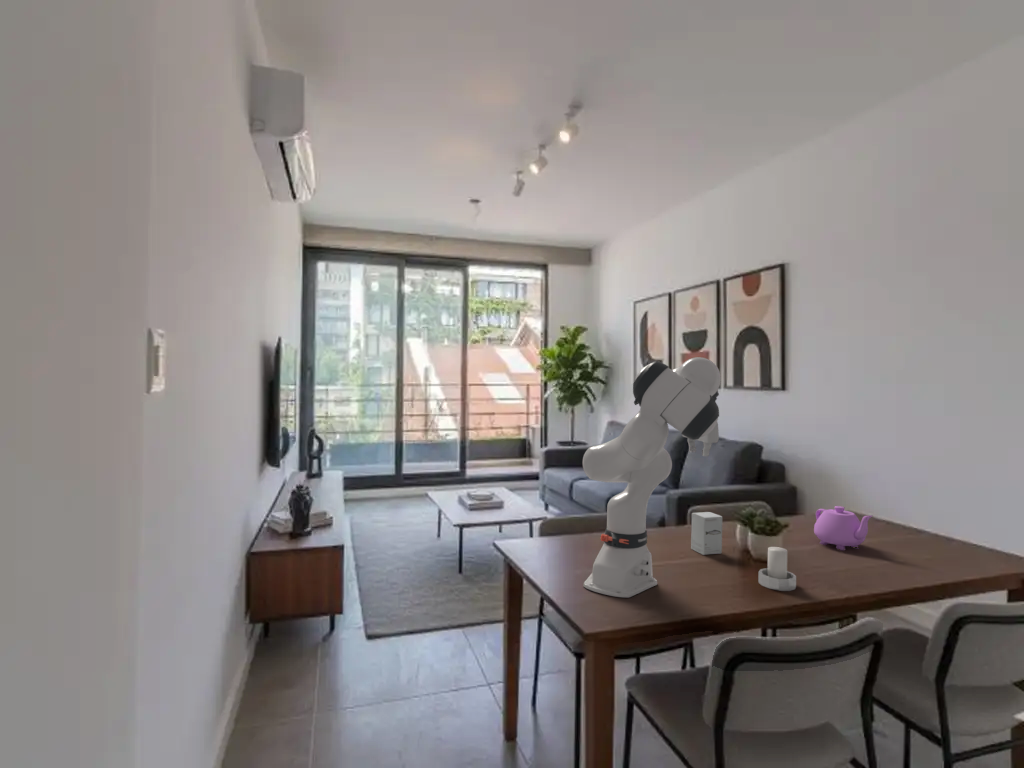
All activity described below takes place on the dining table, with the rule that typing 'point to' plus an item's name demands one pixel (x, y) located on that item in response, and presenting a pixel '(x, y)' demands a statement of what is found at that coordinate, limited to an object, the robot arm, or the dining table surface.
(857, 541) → the teapot
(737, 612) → the dining table surface
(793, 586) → the collar
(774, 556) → the white cylinder
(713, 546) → the supplement box
